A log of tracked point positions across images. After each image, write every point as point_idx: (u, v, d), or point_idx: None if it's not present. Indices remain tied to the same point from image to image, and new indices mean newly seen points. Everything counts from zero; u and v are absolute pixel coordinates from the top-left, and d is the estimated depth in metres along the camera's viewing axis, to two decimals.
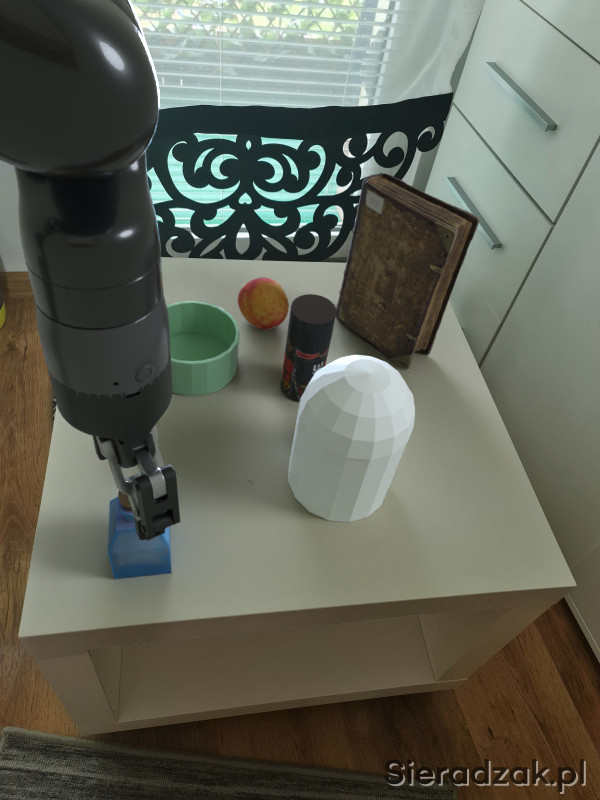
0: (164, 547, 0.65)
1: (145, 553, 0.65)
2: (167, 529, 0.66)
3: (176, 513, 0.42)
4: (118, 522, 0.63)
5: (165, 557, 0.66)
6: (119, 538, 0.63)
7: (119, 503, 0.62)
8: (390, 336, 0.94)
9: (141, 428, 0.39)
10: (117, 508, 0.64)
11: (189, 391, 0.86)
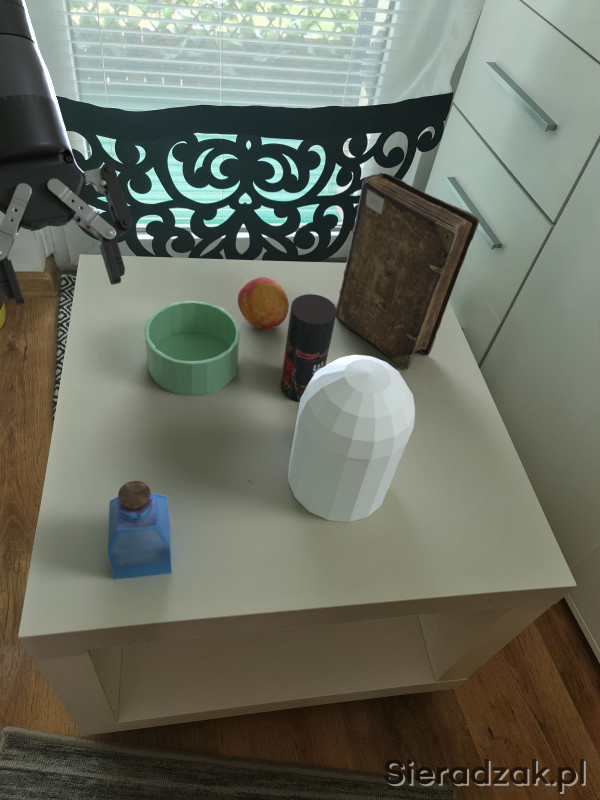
0: (164, 547, 0.65)
1: (145, 553, 0.65)
2: (167, 529, 0.66)
3: None
4: (118, 522, 0.63)
5: (165, 557, 0.66)
6: (119, 538, 0.63)
7: (119, 503, 0.62)
8: (390, 336, 0.94)
9: None
10: (117, 508, 0.64)
11: (189, 391, 0.86)
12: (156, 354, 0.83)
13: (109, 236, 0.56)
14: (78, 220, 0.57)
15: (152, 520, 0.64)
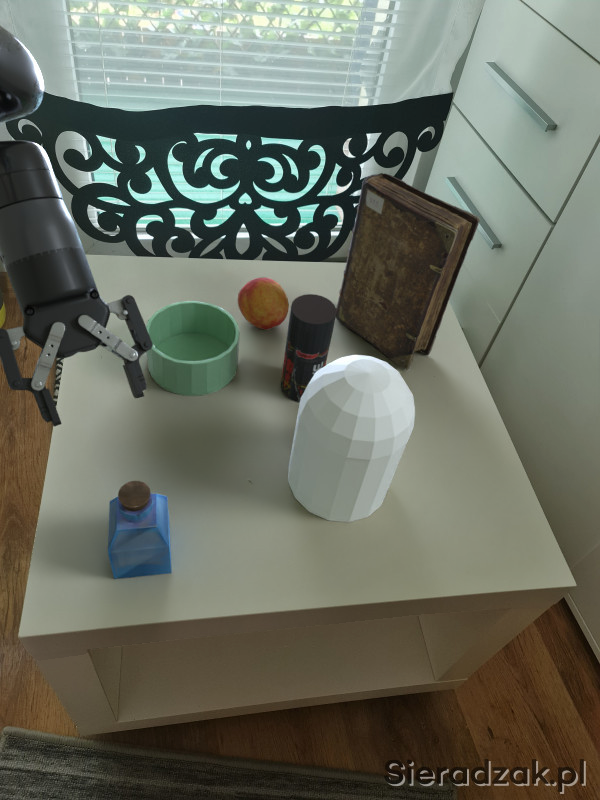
0: (164, 547, 0.65)
1: (145, 553, 0.65)
2: (167, 529, 0.66)
3: None
4: (118, 522, 0.63)
5: (165, 557, 0.66)
6: (119, 538, 0.63)
7: (119, 503, 0.62)
8: (390, 336, 0.94)
9: None
10: (117, 508, 0.64)
11: (189, 391, 0.86)
12: (156, 354, 0.83)
13: (132, 358, 0.63)
14: (103, 344, 0.64)
15: (152, 520, 0.64)
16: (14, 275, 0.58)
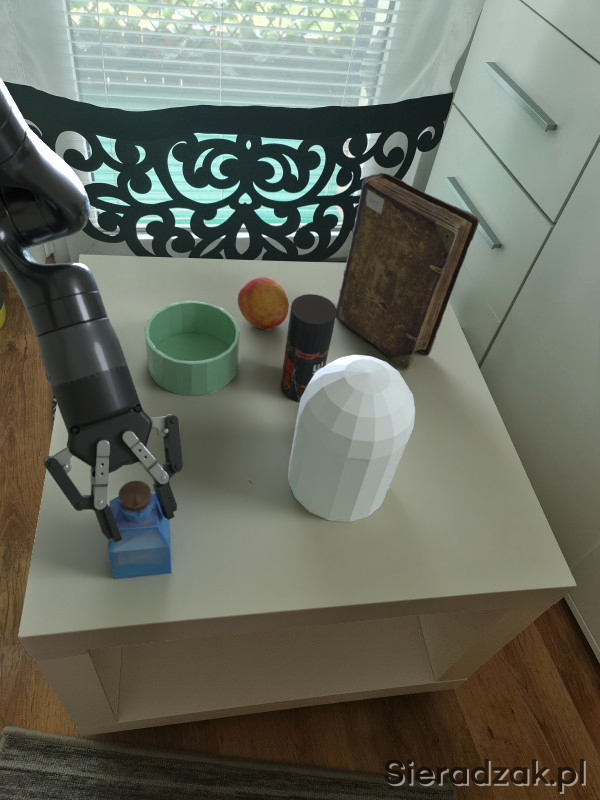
0: (164, 547, 0.65)
1: (145, 553, 0.65)
2: (167, 529, 0.66)
3: None
4: (119, 522, 0.63)
5: (165, 557, 0.66)
6: None
7: (119, 503, 0.62)
8: (390, 336, 0.94)
9: None
10: (117, 508, 0.64)
11: (189, 391, 0.86)
12: (156, 354, 0.83)
13: (162, 481, 0.63)
14: None
15: (152, 520, 0.64)
16: (61, 396, 0.58)
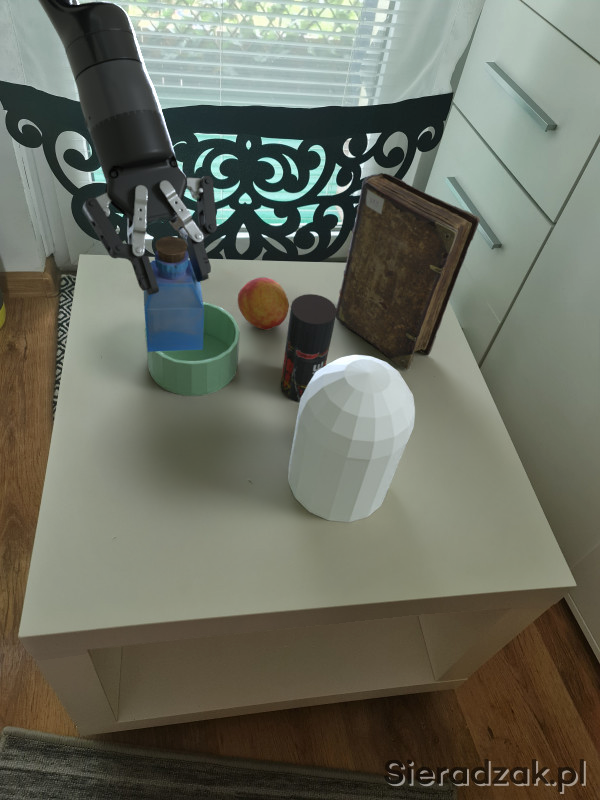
0: (198, 308, 0.66)
1: (180, 315, 0.66)
2: (201, 295, 0.67)
3: None
4: (155, 278, 0.64)
5: (199, 324, 0.68)
6: (155, 293, 0.64)
7: (156, 256, 0.63)
8: (390, 336, 0.94)
9: None
10: None
11: (189, 391, 0.86)
12: (156, 354, 0.83)
13: (197, 239, 0.64)
14: (172, 221, 0.65)
15: (187, 278, 0.65)
16: (100, 136, 0.59)
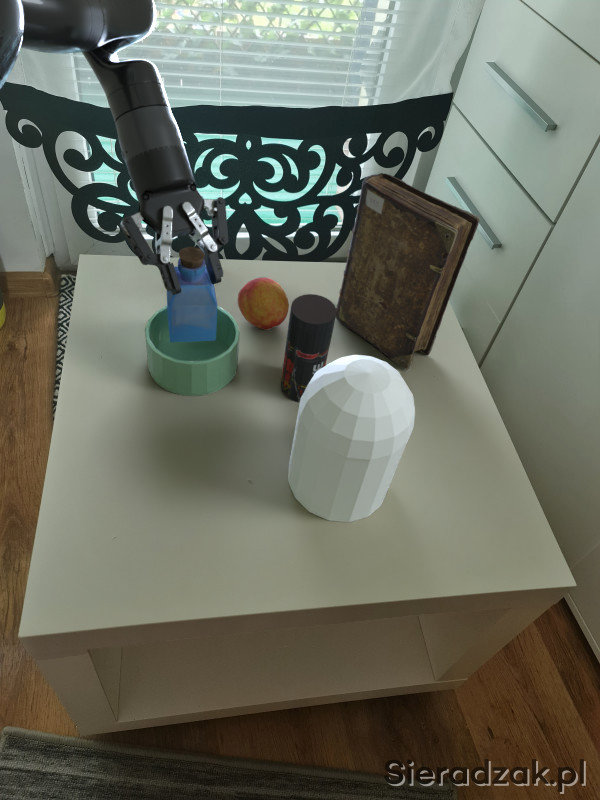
0: (213, 306, 0.80)
1: (197, 311, 0.80)
2: (215, 295, 0.81)
3: None
4: None
5: (213, 319, 0.82)
6: None
7: (179, 263, 0.77)
8: (390, 336, 0.94)
9: None
10: None
11: (189, 391, 0.86)
12: (156, 354, 0.83)
13: (212, 249, 0.78)
14: (192, 234, 0.80)
15: (204, 281, 0.79)
16: (135, 166, 0.73)
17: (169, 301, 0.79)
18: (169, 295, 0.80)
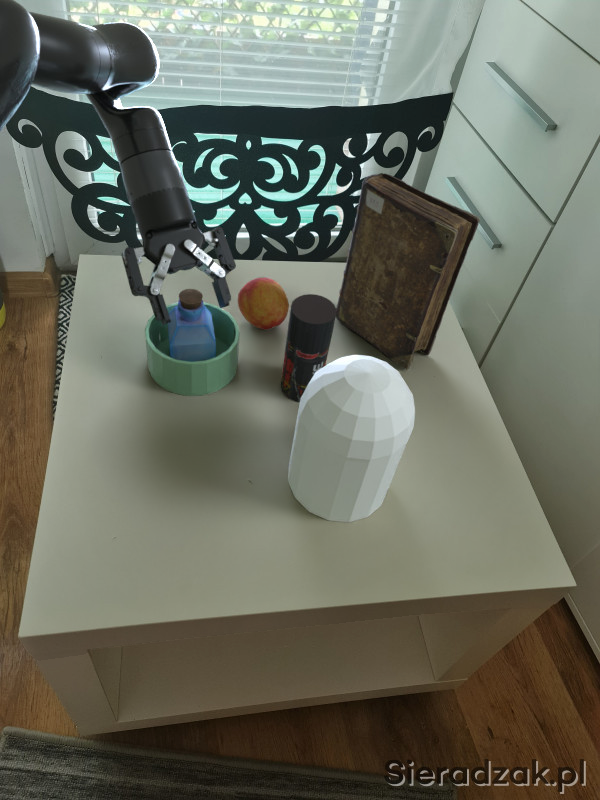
0: (212, 343, 0.85)
1: (197, 348, 0.85)
2: (213, 332, 0.86)
3: None
4: (178, 321, 0.83)
5: (212, 355, 0.87)
6: (179, 332, 0.83)
7: (179, 304, 0.82)
8: (390, 336, 0.94)
9: None
10: (176, 313, 0.84)
11: (189, 391, 0.86)
12: (156, 354, 0.83)
13: (221, 275, 0.83)
14: (198, 265, 0.84)
15: (203, 320, 0.84)
16: (139, 207, 0.78)
17: (170, 339, 0.84)
18: (170, 334, 0.84)
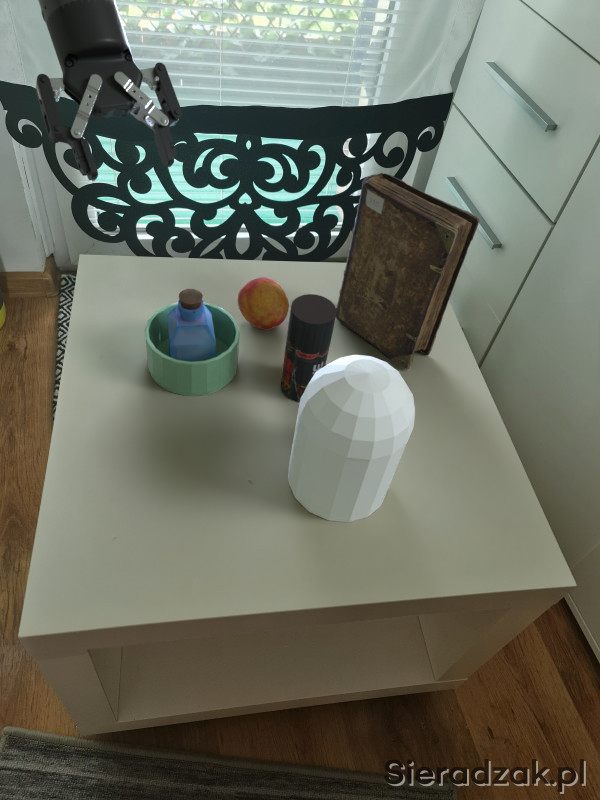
0: (212, 343, 0.85)
1: (197, 348, 0.85)
2: (213, 332, 0.86)
3: None
4: (178, 321, 0.83)
5: (212, 355, 0.87)
6: (179, 332, 0.83)
7: (179, 304, 0.82)
8: (390, 336, 0.94)
9: None
10: (176, 313, 0.84)
11: (189, 391, 0.86)
12: (156, 354, 0.83)
13: (163, 123, 0.67)
14: (135, 113, 0.68)
15: (203, 320, 0.84)
16: (55, 24, 0.62)
17: (170, 339, 0.84)
18: (170, 334, 0.84)
